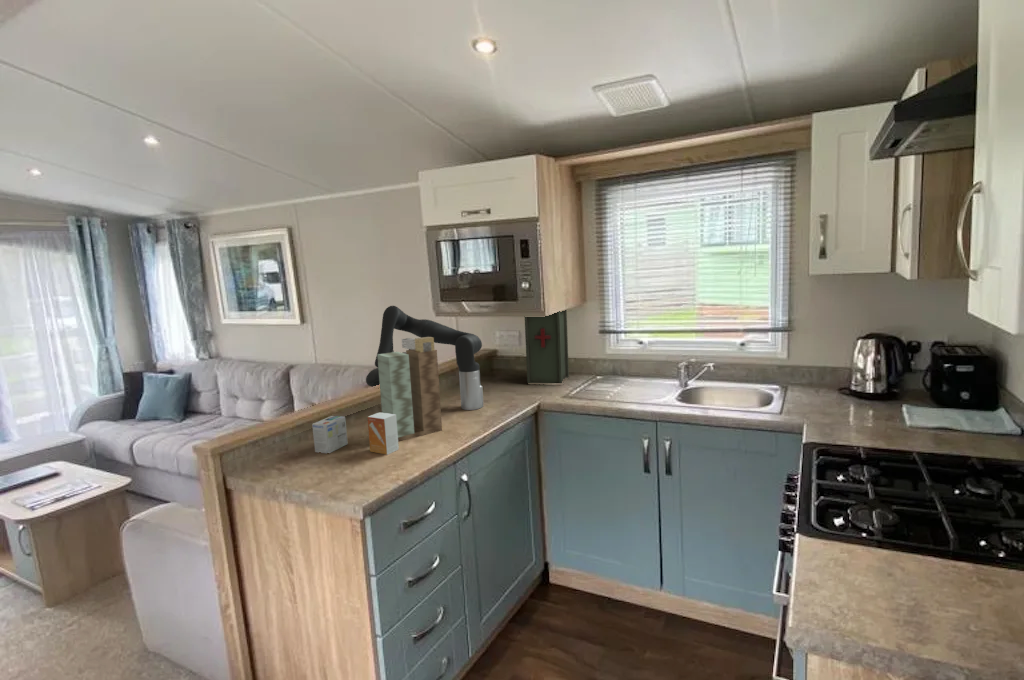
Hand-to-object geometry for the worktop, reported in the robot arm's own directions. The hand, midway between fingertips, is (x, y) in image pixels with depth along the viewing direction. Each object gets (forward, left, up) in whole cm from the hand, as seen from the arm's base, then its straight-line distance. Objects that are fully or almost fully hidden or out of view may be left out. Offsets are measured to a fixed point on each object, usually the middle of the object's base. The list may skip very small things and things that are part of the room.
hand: (402, 350), depth 222 cm
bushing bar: (0, +12, +2) cm, 12 cm away
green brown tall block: (+6, +16, -30) cm, 35 cm away
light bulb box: (+36, +10, -30) cm, 48 cm away
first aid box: (-90, -13, -30) cm, 96 cm away
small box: (+23, +27, -30) cm, 47 cm away
